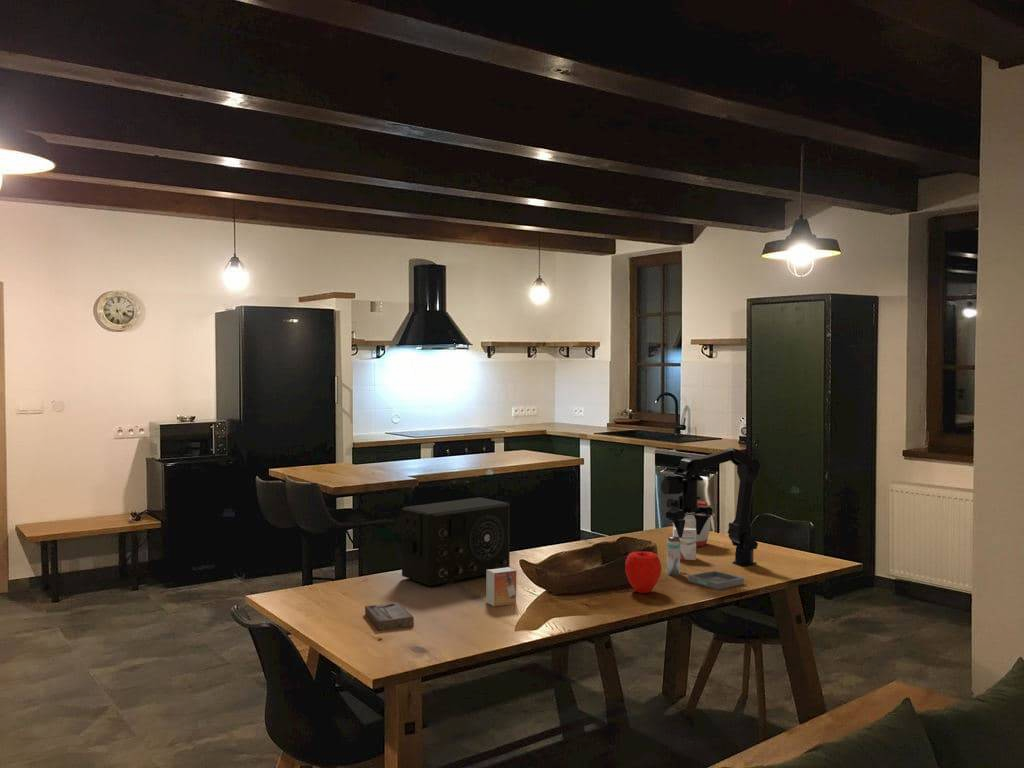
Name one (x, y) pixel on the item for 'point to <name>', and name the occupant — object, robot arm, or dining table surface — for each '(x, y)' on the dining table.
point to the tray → (716, 580)
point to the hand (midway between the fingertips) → (689, 536)
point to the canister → (673, 556)
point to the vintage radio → (454, 539)
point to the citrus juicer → (704, 533)
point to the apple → (643, 570)
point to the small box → (501, 586)
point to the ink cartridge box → (687, 541)
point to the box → (389, 616)
